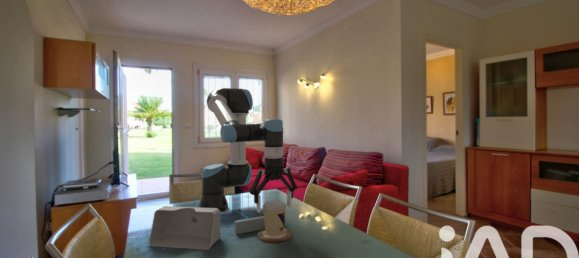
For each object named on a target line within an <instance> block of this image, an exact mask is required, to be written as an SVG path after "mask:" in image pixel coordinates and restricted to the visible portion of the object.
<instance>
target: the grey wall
mask: <svg viewBox="0 0 579 258" xmlns="http://www.w3.org/2000/svg"><path fill="white" fill-rule="evenodd" d="M264 228H265V223H264V215H263V216H256V217H255V216H254V217H250V218H244V219H238V220H234V234H235V235H240V234H245V233H250V232H251V233H252V232H257V231H260V230H262V229H264Z"/></svg>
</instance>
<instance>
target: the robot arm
mask: <svg viewBox="0 0 579 258" xmlns="http://www.w3.org/2000/svg"><path fill="white" fill-rule="evenodd" d="M253 103H254V101H253V96H252V94H251V91H250V90H249V89H246V88H234V87H233V88H232V87H218V88H215V89H213V90H212V91H211V92H209V94H208V96H207V98H206V105H207V108H208V109H209V111H210V112H212V113H213V114H214V115H215V117H216V119H217V122H218V123H219V125H220V126H221V127H220V130H219V131H220V132H219V134H220V135H219V136H220V139H221V141H222V142H223V143H229V145H230V146H229V160H228V161H227V162H226V165H224V164H223V163H214V164H210V165H206V166H204V167H203V168H202V169H201V176H200V177H201V198H200V200H199V204H198V207H199V208H218V209H219V210H220V212H223V211H225V210H227V209H228V208H229V203H228V200H227V197H226V195H225V188H226V189H227V188H234V187H235V188H236V187H243V186H247V185H249V184H250V182H251V181H252V178H253V177H252V176H253V168H252V165H251V164H249V161H248V160H247V159H246V156H247V153H246V151H247V150H246V149H247V147H246V145H247V144H246V143H248V142H249V143H251V142H264V169H263V170H261V169H257V171H256V176H255V178H254V181H253V183H252V185H251V187H250V189H249V194H250V195H252V196H253V202H254V204H256V208H255V209H256V212H257V213H262V211H261V195H260V194H261V193H262V191H263V189H264V188H265V187H266V185H267V184H268V183H269V182H270V181H271V182H272V181H279V180H280V181H281V183H283V184H284V185H285V187H286V188H287V191H286V207H288V208H292V200H293V199H294V192H295V190H297V189H298V185H297V182H296V181H295V179H294V177H293V175H292V173H291V172H292V170H291V168H290V167H287V166H286V167H285V168H284V157H283V156H284V123H283V120H282V119H281V118H280V119H279V118H277V119H275V118H273V119H270V118H269V119H265V120H264V123H247V116H248V115H249V113H250V111H252V109H253V105H254V104H253ZM284 173H285V174H286V177H287V178H288V180H287V179H286V178H285V176H283V174H284ZM263 176H264V177H263ZM262 177H263V179H262ZM261 179H262V180H261ZM288 181H289V182H290V183H289V182H288Z"/></svg>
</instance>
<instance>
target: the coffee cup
mask: <svg viewBox="0 0 579 258" xmlns="http://www.w3.org/2000/svg"><path fill="white" fill-rule="evenodd" d="M262 207H263V208H262V209H263V216H264V223H265V233H266V235H268V236H271V237H277V236H281V235H283V234H284V228H286V225H285V224H286V207H287V204H286V202H285V201H282V200H269V201H265V202H264V203H263V205H262Z"/></svg>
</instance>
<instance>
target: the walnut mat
mask: <svg viewBox="0 0 579 258" xmlns="http://www.w3.org/2000/svg"><path fill="white" fill-rule="evenodd" d="M292 236H293V233H292V231H291V229H289V228H286V227H285V228H284V234H283V235H281V236H277V237H271V236H268V235H266V233H265V228H264V229H262V230H258V232H257V238H258V240H260V241H262V242H265V243H271V244H273V243H275V244H277V243H278V244H279V243H283V242H285V241H288V240H290V239H291V238H292Z"/></svg>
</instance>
